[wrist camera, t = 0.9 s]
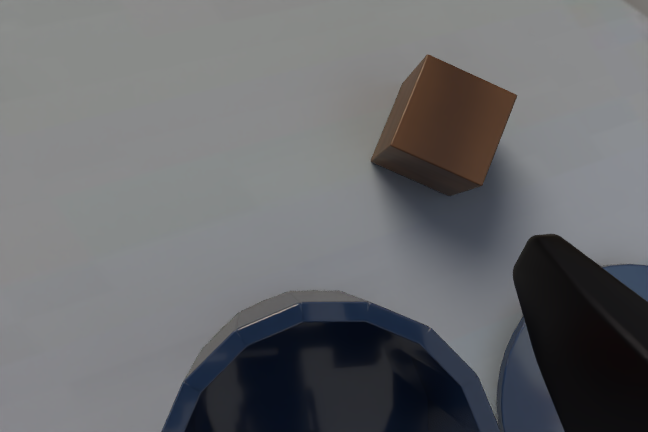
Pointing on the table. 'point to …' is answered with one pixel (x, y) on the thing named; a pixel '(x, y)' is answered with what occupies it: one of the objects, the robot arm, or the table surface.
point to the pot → (328, 373)
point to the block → (444, 127)
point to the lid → (526, 379)
